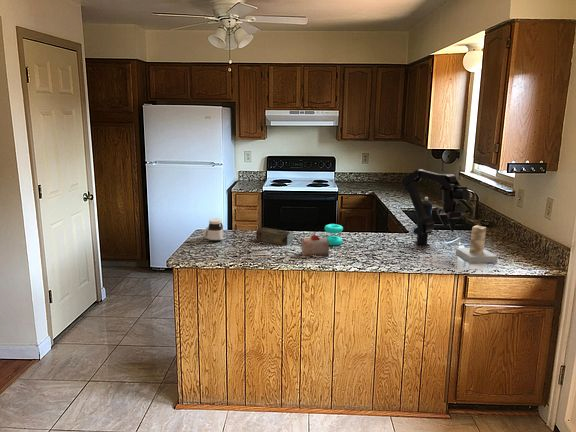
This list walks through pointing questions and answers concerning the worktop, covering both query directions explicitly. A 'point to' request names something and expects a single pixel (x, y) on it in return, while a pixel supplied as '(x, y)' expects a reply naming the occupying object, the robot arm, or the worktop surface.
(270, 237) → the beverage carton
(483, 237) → the birch block
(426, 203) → the aerosol can
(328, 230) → the donuts
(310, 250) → the food item
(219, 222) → the spread jar
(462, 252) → the light grey slab
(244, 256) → the worktop surface
